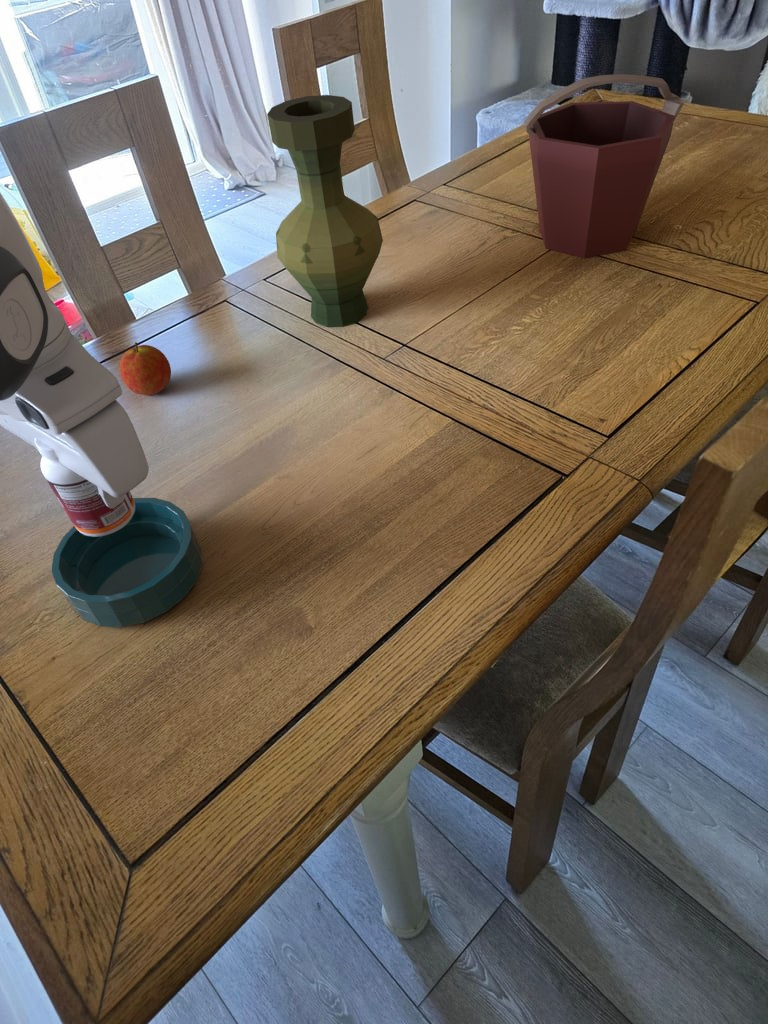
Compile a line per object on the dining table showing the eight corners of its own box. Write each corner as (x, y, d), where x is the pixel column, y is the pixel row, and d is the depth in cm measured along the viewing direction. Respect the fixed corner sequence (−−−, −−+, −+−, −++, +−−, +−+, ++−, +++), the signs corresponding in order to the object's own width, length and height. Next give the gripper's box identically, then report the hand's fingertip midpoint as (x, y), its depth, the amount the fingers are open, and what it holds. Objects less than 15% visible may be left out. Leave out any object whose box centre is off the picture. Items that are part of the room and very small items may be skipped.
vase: (327, 350, 106) (291, 138, 84) (271, 314, 115) (226, 114, 94) (409, 309, 112) (395, 102, 91) (350, 277, 121) (324, 82, 100)
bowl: (152, 647, 70) (135, 618, 67) (43, 609, 75) (21, 580, 71) (228, 544, 79) (216, 513, 76) (126, 516, 84) (111, 486, 80)
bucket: (658, 211, 129) (688, 54, 111) (662, 268, 114) (698, 97, 96) (524, 210, 134) (532, 60, 116) (512, 264, 120) (519, 102, 102)
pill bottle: (86, 497, 73) (40, 412, 65) (143, 493, 72) (104, 408, 64) (66, 541, 68) (14, 456, 61) (127, 537, 68) (83, 452, 60)
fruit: (165, 406, 99) (146, 358, 94) (121, 403, 101) (100, 356, 95) (184, 378, 104) (167, 330, 98) (142, 375, 105) (123, 329, 100)
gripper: (-70, 350, 61) (5, 467, 71) (62, 427, 51) (128, 550, 61) (-6, 317, 64) (58, 433, 74) (130, 383, 54) (182, 507, 64)
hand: (90, 487), depth 67 cm, fingers closed on pill bottle, 6 cm apart
